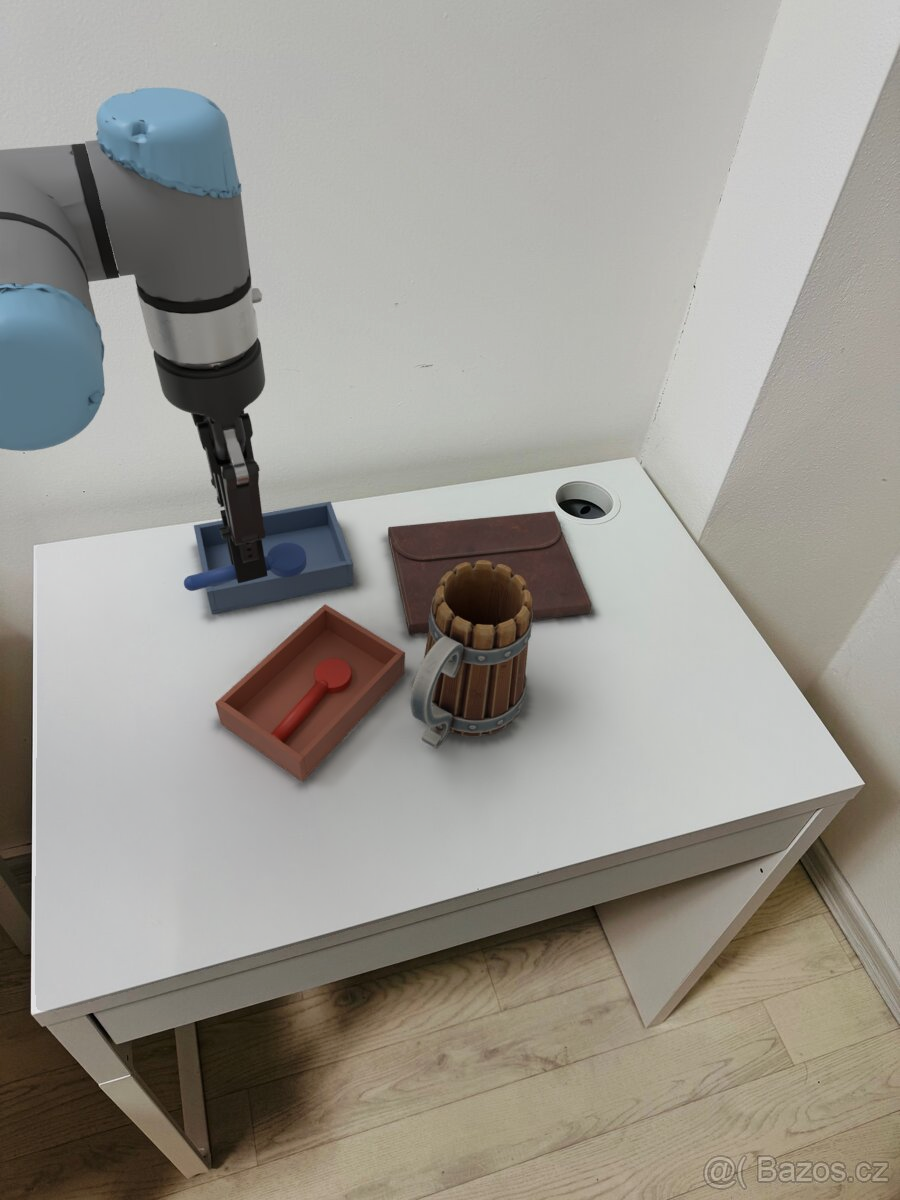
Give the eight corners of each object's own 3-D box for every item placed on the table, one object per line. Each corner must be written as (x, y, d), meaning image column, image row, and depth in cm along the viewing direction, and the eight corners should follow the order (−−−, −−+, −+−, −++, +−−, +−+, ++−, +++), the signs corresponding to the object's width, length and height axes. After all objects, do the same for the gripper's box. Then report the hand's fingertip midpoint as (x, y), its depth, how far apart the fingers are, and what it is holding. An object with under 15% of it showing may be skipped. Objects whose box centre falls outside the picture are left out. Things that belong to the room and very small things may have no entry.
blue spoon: (189, 604, 75) (186, 594, 74) (181, 576, 77) (178, 566, 76) (311, 571, 78) (310, 561, 77) (300, 545, 80) (299, 535, 79)
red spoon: (287, 758, 76) (286, 750, 75) (256, 739, 77) (254, 731, 76) (358, 674, 83) (358, 665, 82) (329, 658, 84) (328, 649, 83)
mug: (452, 636, 87) (462, 533, 76) (542, 682, 84) (566, 581, 73) (366, 745, 78) (363, 645, 67) (464, 800, 75) (478, 706, 64)
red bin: (302, 782, 75) (299, 761, 73) (220, 723, 79) (214, 702, 76) (404, 673, 84) (405, 652, 81) (326, 625, 87) (324, 603, 85)
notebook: (589, 615, 90) (593, 603, 89) (409, 636, 87) (409, 624, 85) (551, 520, 100) (554, 508, 98) (387, 536, 97) (387, 524, 95)
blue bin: (211, 614, 87) (206, 592, 85) (198, 547, 94) (193, 524, 91) (353, 585, 91) (352, 563, 89) (332, 523, 98) (330, 501, 95)
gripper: (285, 387, 56) (311, 614, 74) (234, 285, 65) (268, 509, 83) (172, 409, 54) (226, 637, 72) (135, 300, 63) (192, 527, 80)
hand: (249, 568), depth 77 cm, fingers closed on blue spoon
